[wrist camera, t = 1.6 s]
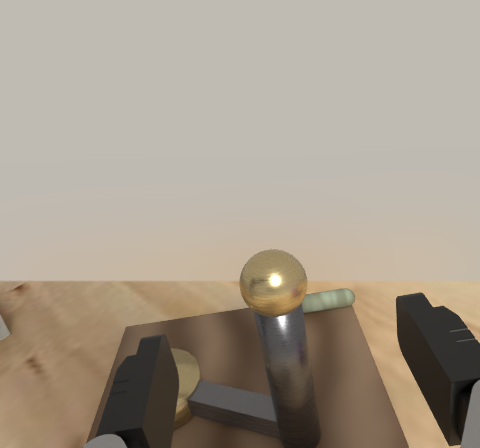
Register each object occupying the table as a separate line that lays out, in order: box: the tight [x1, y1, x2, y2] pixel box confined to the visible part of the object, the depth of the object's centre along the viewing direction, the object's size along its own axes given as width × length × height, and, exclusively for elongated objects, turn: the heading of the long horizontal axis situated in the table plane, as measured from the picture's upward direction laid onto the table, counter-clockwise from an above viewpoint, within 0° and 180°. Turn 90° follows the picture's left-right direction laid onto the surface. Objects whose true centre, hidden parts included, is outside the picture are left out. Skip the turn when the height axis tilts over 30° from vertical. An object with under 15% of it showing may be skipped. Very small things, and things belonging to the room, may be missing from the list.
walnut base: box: [87, 289, 409, 448], centre depth 38 cm, size 24×18×3 cm
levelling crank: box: [171, 250, 321, 448], centre depth 31 cm, size 18×7×15 cm, turn 65°
